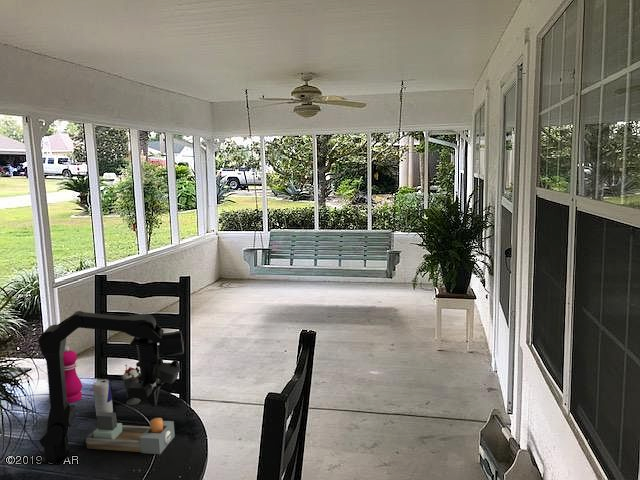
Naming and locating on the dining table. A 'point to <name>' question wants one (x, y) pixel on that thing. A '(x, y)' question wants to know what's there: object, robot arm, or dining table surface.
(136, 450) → the rail board
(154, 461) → the dining table surface
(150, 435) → the cabinet
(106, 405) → the energy drink
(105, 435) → the carriage
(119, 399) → the dining table surface
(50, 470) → the dining table surface
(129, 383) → the sundae
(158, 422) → the button
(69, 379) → the pepper mill
